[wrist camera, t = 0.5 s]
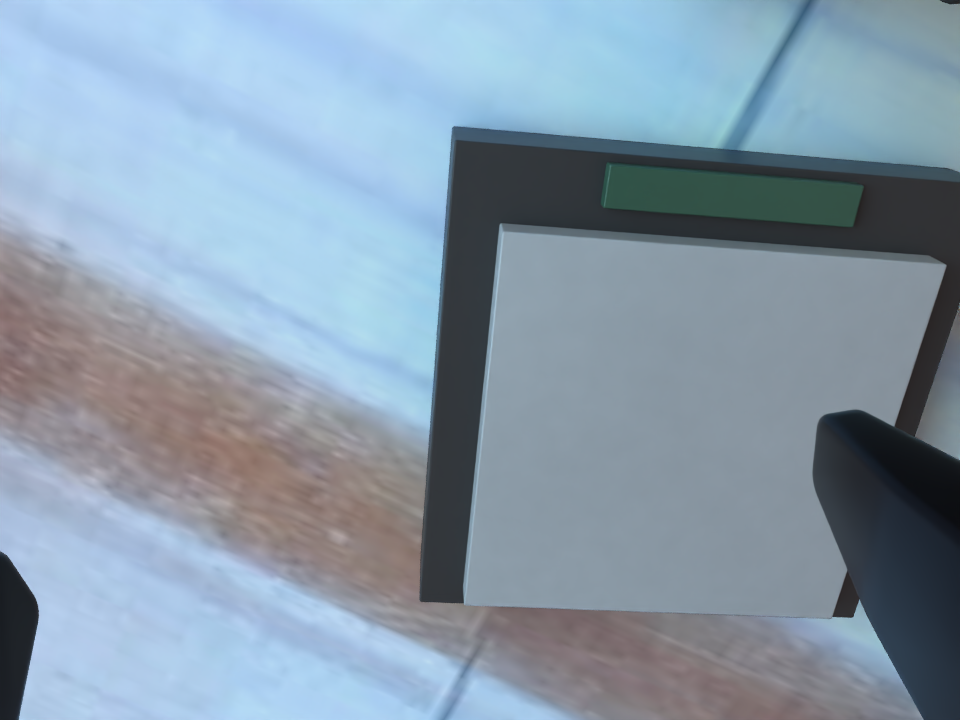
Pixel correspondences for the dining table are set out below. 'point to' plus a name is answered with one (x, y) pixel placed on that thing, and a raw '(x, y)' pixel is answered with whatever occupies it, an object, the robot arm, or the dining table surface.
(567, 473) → the kitchen scale
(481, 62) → the dining table surface
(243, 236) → the dining table surface
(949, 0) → the figurine
